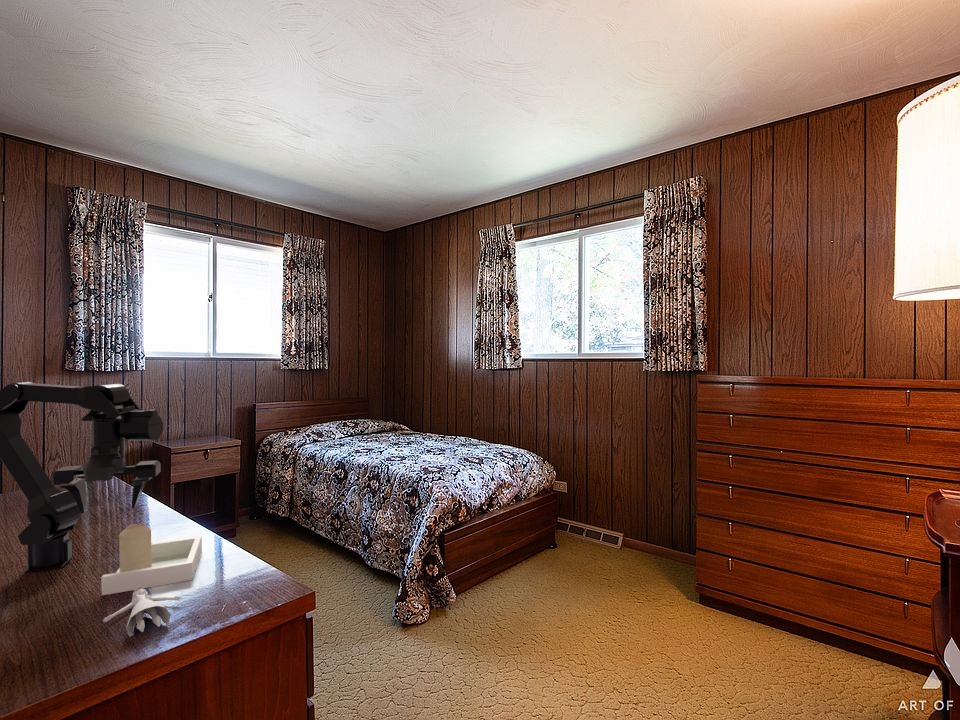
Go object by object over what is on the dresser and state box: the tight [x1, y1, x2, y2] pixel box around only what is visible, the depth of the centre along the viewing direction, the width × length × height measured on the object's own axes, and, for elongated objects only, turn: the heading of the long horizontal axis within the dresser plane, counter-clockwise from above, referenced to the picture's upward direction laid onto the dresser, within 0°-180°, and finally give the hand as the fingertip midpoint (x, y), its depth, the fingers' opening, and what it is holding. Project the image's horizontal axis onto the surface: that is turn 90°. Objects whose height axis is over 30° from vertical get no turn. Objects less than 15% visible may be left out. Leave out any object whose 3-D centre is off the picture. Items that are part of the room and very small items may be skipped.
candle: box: [118, 522, 152, 572], centre depth 103 cm, size 6×6×10 cm
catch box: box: [100, 535, 203, 596], centre depth 105 cm, size 15×16×4 cm
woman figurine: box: [102, 587, 183, 637], centre depth 86 cm, size 12×4×18 cm
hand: (109, 510), depth 109 cm, fingers open, 9 cm apart
